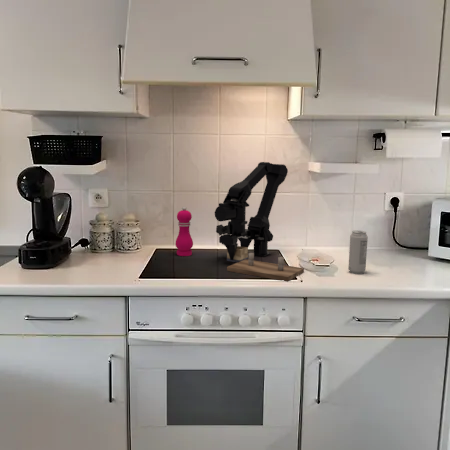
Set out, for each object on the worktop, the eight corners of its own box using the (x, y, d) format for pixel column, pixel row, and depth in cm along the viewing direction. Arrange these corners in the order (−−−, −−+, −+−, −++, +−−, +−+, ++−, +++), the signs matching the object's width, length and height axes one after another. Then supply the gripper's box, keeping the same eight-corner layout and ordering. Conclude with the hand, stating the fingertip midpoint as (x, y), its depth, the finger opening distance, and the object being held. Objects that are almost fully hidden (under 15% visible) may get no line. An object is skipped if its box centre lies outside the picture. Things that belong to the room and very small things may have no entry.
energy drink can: (354, 269, 182) (356, 229, 180) (368, 272, 178) (371, 232, 176) (344, 272, 178) (347, 231, 176) (359, 275, 174) (362, 234, 172)
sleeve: (234, 257, 198) (234, 245, 197) (247, 259, 195) (247, 247, 194) (226, 260, 193) (227, 248, 192) (240, 262, 190) (240, 250, 189)
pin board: (245, 262, 190) (246, 247, 189) (303, 272, 177) (304, 256, 176) (227, 270, 178) (227, 254, 177) (287, 281, 166) (288, 264, 164)
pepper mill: (182, 257, 197) (181, 208, 194) (172, 254, 203) (171, 206, 199) (196, 254, 202) (196, 206, 198) (186, 251, 207) (186, 204, 204)
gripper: (232, 213, 203) (231, 250, 206) (207, 219, 187) (207, 259, 190) (256, 216, 197) (255, 254, 200) (232, 222, 182) (232, 263, 184)
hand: (237, 257), depth 194 cm, fingers open, 8 cm apart
